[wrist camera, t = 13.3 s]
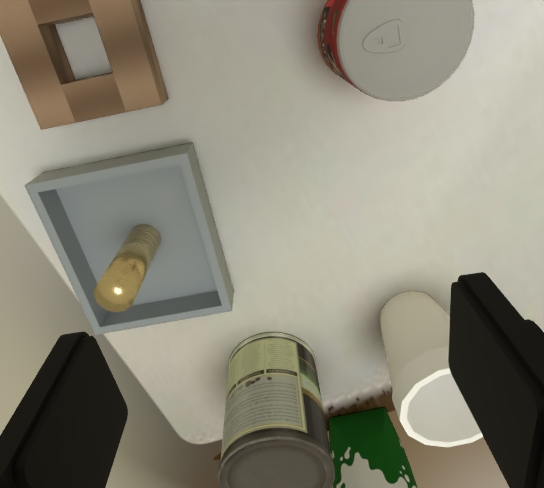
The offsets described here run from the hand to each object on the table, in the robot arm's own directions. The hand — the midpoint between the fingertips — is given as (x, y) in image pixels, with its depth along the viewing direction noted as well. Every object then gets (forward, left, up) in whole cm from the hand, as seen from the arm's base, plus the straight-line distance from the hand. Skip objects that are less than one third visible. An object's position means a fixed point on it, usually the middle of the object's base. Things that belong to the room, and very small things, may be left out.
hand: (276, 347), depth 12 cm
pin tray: (+9, -14, -30) cm, 34 cm away
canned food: (-5, +9, -30) cm, 32 cm away
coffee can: (+28, -5, -30) cm, 41 cm away
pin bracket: (-8, -13, -30) cm, 34 cm away
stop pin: (+9, -13, -29) cm, 33 cm away
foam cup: (+24, +11, -30) cm, 40 cm away
